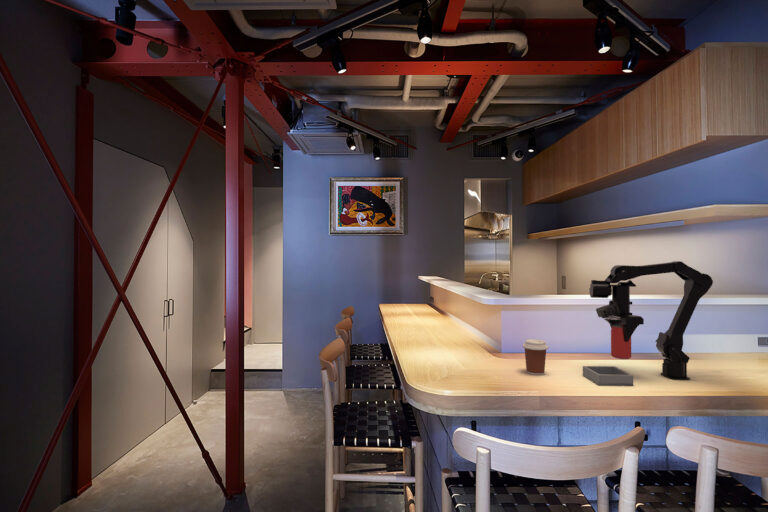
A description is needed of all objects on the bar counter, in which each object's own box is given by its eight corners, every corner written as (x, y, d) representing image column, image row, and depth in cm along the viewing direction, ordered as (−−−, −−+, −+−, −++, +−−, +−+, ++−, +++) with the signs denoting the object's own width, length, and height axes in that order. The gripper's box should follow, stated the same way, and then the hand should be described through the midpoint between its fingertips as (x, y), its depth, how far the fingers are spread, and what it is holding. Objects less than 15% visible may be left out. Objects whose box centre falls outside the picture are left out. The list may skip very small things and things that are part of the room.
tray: (614, 375, 146) (614, 366, 146) (633, 385, 134) (633, 375, 134) (582, 375, 146) (582, 366, 146) (598, 385, 135) (598, 375, 135)
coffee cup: (544, 369, 154) (543, 338, 154) (551, 376, 145) (551, 343, 145) (520, 369, 155) (519, 338, 155) (526, 375, 146) (525, 343, 146)
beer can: (634, 360, 145) (634, 327, 145) (614, 359, 146) (614, 326, 146) (627, 355, 151) (626, 324, 152) (608, 354, 153) (608, 323, 153)
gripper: (587, 296, 159) (587, 334, 159) (612, 300, 140) (612, 345, 140) (615, 296, 158) (615, 335, 158) (644, 301, 140) (644, 345, 139)
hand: (621, 339), depth 149 cm, fingers closed on beer can, 6 cm apart
